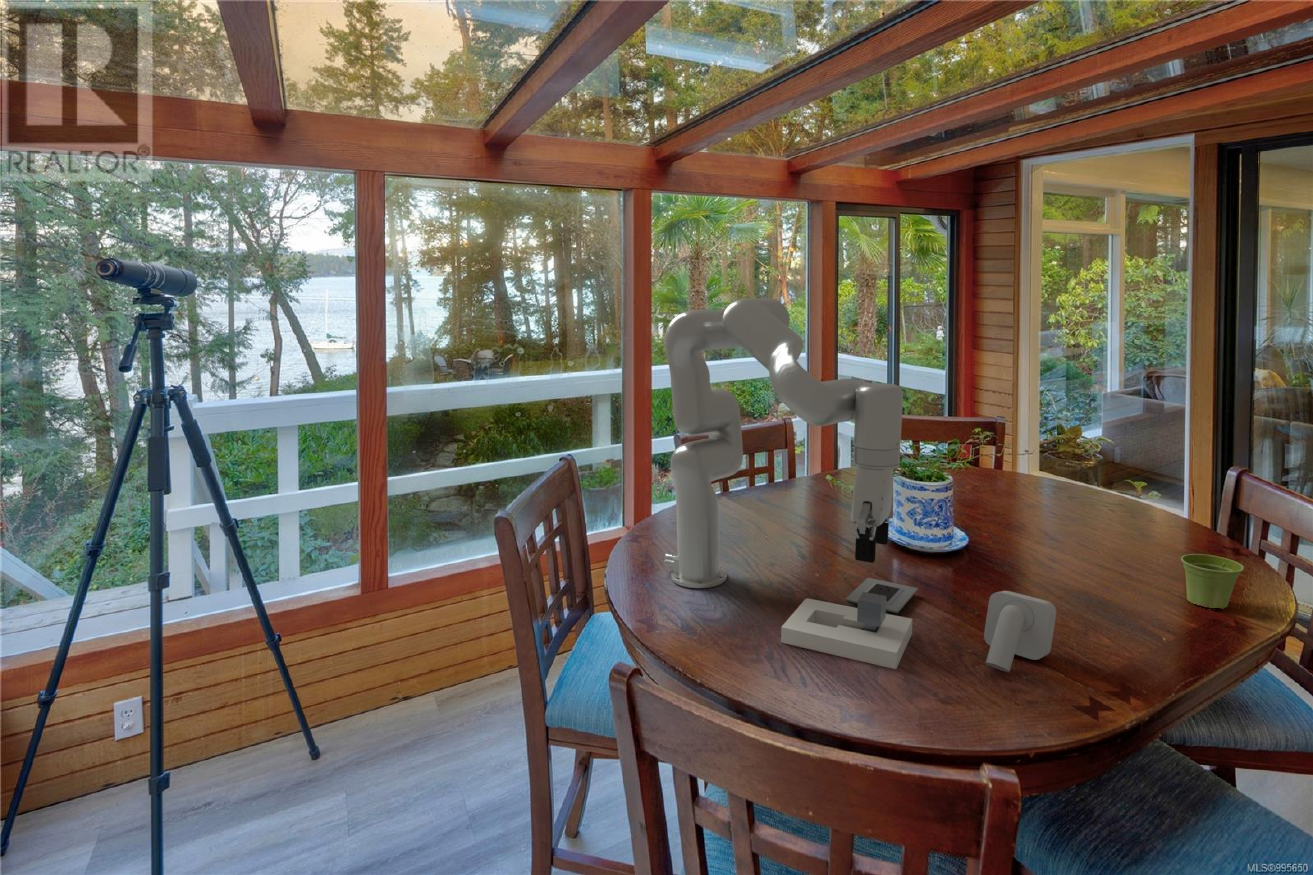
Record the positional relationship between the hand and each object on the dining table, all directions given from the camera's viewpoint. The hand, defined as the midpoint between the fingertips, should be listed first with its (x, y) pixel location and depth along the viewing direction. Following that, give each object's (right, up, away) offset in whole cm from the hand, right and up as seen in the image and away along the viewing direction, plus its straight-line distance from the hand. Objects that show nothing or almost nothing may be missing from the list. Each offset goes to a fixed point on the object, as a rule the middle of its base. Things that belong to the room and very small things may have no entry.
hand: (871, 551), depth 116 cm
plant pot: (+70, -13, +14) cm, 73 cm away
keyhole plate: (-3, -17, +5) cm, 18 cm away
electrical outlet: (+9, -14, +20) cm, 26 cm away
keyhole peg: (+1, -17, +3) cm, 17 cm away
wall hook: (+22, -18, -4) cm, 29 cm away
